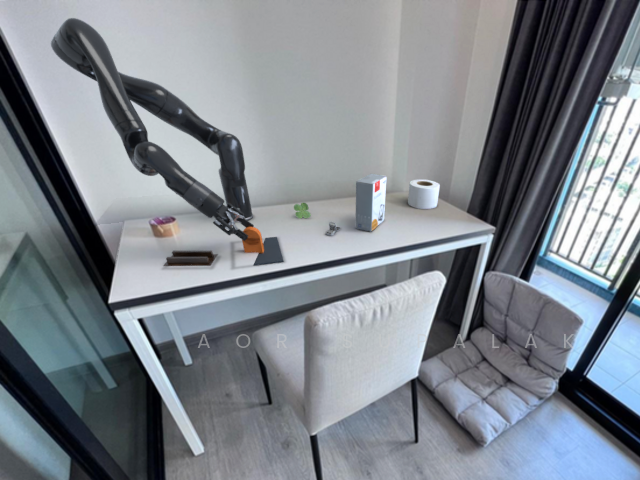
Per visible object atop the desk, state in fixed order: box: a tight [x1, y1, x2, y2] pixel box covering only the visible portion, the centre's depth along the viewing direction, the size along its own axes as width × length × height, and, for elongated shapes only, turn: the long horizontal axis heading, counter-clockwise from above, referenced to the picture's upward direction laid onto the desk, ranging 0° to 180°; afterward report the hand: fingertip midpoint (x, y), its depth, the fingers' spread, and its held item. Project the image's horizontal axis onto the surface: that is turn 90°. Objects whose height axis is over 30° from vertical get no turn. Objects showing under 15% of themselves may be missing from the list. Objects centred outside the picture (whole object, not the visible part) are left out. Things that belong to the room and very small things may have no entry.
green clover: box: [293, 202, 312, 219], centre depth 146 cm, size 7×8×7 cm
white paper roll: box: [407, 179, 441, 210], centre depth 168 cm, size 16×15×11 cm
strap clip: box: [325, 221, 341, 237], centre depth 133 cm, size 8×3×4 cm, turn 165°
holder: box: [162, 250, 219, 267], centre depth 106 cm, size 14×8×3 cm, turn 98°
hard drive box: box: [355, 173, 387, 232], centre depth 138 cm, size 16×8×20 cm, turn 161°
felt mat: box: [252, 236, 285, 267], centre depth 115 cm, size 20×16×1 cm
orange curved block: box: [241, 227, 264, 254], centre depth 112 cm, size 6×2×9 cm, turn 98°
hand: (249, 233), depth 110 cm, fingers open, 8 cm apart
